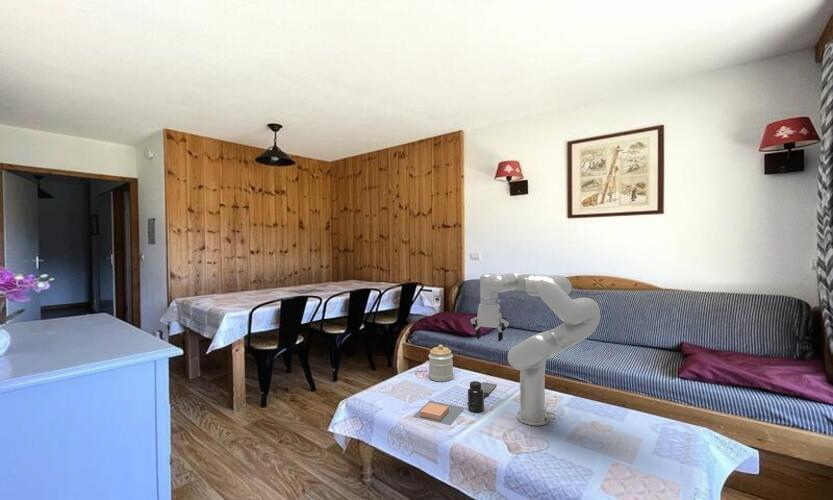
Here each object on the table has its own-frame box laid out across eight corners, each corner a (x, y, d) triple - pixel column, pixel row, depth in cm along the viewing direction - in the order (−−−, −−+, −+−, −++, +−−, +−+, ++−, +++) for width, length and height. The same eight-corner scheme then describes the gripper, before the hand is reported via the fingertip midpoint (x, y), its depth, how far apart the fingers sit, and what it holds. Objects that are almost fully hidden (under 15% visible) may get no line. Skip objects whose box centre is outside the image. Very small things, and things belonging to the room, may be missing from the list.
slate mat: (465, 409, 164) (465, 407, 164) (450, 426, 149) (450, 425, 149) (429, 401, 172) (429, 400, 172) (412, 418, 157) (412, 416, 157)
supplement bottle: (473, 405, 167) (472, 378, 167) (486, 410, 163) (486, 382, 162) (464, 411, 162) (464, 383, 161) (478, 416, 157) (478, 387, 157)
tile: (448, 406, 160) (440, 415, 152) (448, 411, 160) (440, 421, 152) (429, 402, 164) (420, 411, 156) (429, 407, 164) (420, 416, 156)
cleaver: (478, 409, 164) (478, 404, 164) (457, 404, 169) (457, 400, 169) (498, 386, 190) (498, 381, 190) (479, 382, 195) (479, 378, 195)
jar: (453, 373, 207) (453, 341, 206) (452, 382, 194) (452, 348, 193) (430, 372, 209) (429, 341, 208) (427, 381, 196) (427, 347, 195)
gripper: (510, 301, 168) (510, 339, 169) (473, 299, 176) (473, 335, 177) (506, 304, 162) (506, 343, 162) (467, 301, 170) (468, 339, 170)
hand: (489, 339), depth 170 cm, fingers open, 9 cm apart
